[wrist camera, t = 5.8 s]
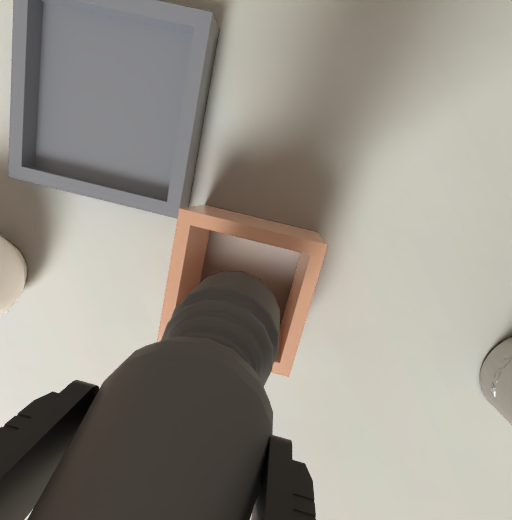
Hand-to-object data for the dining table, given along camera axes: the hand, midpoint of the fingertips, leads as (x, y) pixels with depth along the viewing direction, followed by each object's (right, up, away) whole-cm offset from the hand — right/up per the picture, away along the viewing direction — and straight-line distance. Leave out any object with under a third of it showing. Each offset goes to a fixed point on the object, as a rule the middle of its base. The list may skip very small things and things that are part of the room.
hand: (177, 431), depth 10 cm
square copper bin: (+2, +4, +19) cm, 20 cm away
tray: (-10, +19, +17) cm, 28 cm away
